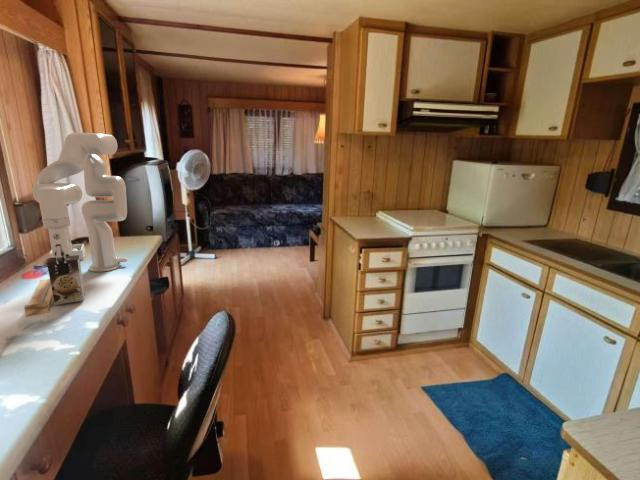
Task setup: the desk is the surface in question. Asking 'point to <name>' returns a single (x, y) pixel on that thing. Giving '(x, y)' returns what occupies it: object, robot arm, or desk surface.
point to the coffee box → (66, 281)
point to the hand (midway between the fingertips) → (65, 270)
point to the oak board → (40, 299)
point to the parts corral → (78, 252)
